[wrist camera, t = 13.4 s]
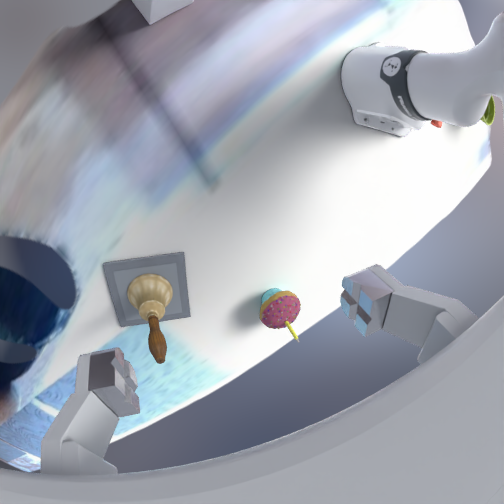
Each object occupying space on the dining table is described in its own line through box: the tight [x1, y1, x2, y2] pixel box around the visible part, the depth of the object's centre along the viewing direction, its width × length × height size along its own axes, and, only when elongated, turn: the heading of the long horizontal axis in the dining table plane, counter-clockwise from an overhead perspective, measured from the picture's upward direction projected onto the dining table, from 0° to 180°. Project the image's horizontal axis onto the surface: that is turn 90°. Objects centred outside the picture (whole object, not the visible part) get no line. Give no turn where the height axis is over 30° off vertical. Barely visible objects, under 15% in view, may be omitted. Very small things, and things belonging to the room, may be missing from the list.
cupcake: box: [260, 288, 301, 342], centre depth 54 cm, size 9×8×12 cm
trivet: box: [103, 252, 191, 327], centre depth 48 cm, size 14×14×1 cm
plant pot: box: [480, 95, 495, 125], centre depth 50 cm, size 9×9×9 cm
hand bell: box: [127, 274, 173, 364], centre depth 41 cm, size 8×8×16 cm
